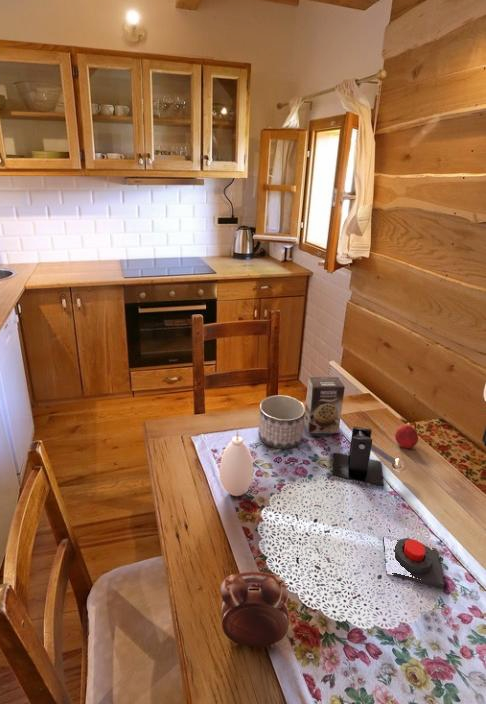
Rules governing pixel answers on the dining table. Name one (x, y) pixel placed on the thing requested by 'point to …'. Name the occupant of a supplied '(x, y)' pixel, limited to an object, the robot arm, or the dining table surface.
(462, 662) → the dining table surface
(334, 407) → the cookie box
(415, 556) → the red button
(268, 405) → the planter
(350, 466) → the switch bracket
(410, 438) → the onion
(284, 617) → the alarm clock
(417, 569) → the button box
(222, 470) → the pale pink tall ovoid
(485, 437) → the robot arm
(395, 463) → the switch lever
